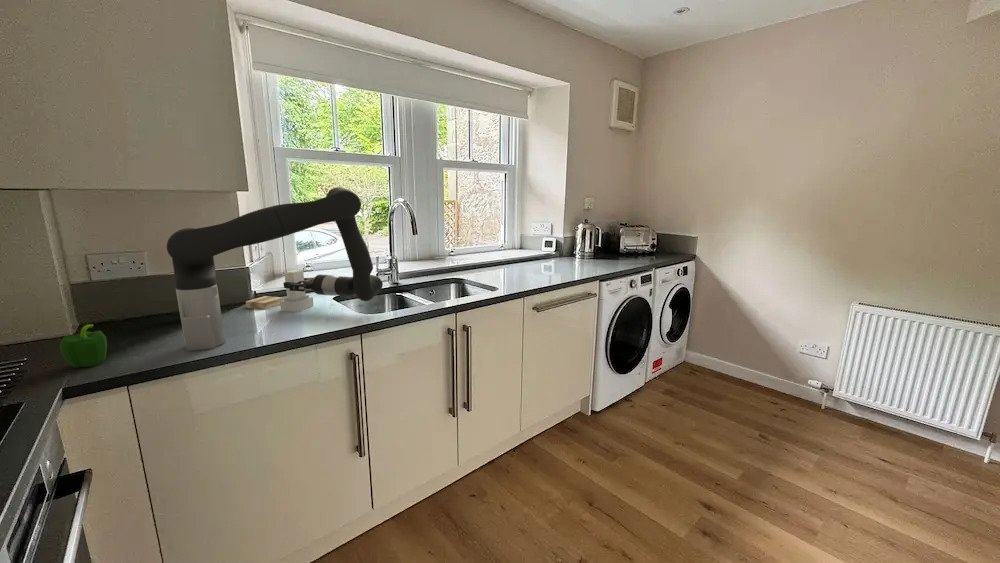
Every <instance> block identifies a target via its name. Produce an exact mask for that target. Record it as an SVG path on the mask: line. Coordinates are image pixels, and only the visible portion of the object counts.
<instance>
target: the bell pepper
mask: <svg viewBox="0 0 1000 563" xmlns="http://www.w3.org/2000/svg"><path fill="white" fill-rule="evenodd" d="M93 327H94V324H89V323H88V324H87V323H86V324H85V325H84V326H82V328H80V333H78V334H77V335H65V336H63V338H62V339H61V341H60V343H59V345H58V346H59V351H60V354H61V355H62V357H63V359H64V360H65V362H67V363H68V365H70V366H71V367H72V368H74V369H78V368H85V367H86V368H88V367H94V366H97V365H100V364H103V363H104V361H105V359H106V358H107V351H108V339H107V336H106V334H104V333H103V331H102V330H94V331H87V330H88V329H92V328H93Z"/></svg>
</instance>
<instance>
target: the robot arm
mask: <svg viewBox="0 0 1000 563" xmlns="http://www.w3.org/2000/svg"><path fill="white" fill-rule="evenodd" d="M361 209H362V201H361V198H360V197H359V195H358V194H356V193H355V192H353V191H352V190H350V189H347V188H345V187H341V186H339V187H338V186H337V187H334V188H331V189H330V190H328V192H327V193H326V196H325V197H322V198H320V199H319V198H318V199H316V200H311V201H305V202H293V203H281V204H277V205H272V206H268V207H264V208H260V209H257V210H253V211H250V212H248V213H245V214H243V215H240V216H238V217H235V218H232V219H230V220H228V221H225V222H222V223H219V224H213V225H209V226H203V227H198V228H192V227H186V228H182V229H179V230H177V231H174V232H173V233H172V234H171V235H170V237H169V238H168V240H167V242H166V251H167V253H168V255H169V257H170V258H171V259H172V266H173V282H174V287H175V292H176V294H175V295H176V299H177V303H178V304H177V305H178V310H179V315H180V317H179V318H180V322H181V326H182V333H183V340H184V346H185V349H186V351H187V352H192V351H193V352H194V351H195V352H196V351H201V350H202V351H203V350H212V349H213V350H214V349H215V348H216V347H218V346H221V345H223V344H225V343H226V338H225V329H224V324H223V322H224V321H223V315H222V310H221V302H220V296H219V290H218V282H217V274H216V265H215V260H214V259H215V258H214V256H217V255H220V254H222V253H225V252H228V251H231V250H234V249H237V248H243V247H247V246H252V245H257V244H260V243H262V244H263V243H265V242H269V241H273V240H276V239H280V238H283V237H287V236H289V235H293V234H295V233H299V232H302V231H305V230H307V229H310V228H314V227H316V226H318V225H319V226H320V225H322V224H327V223H333V222H335V224H336V226H337V228H338V231H339V233H340V236H341V238H342V243H343V244H344V248H345V251H346V254H347V258H348V261H349V264H350V267H351V270H352V276H341V275H335V274H333V275H332V274H318V275H316V276H314V277H304V280H303V281H299V282H285V281H284V282H283V288H284V289H286V288H289V290H290V291H302V292H304V291H305V292H306V291H313V292H314V293H315V294H316V295H320V296H321V295H322V296H335V297H336V296H344V297H351V296H354V295H356V297H357V298H358V300H361V301H362V302H369V301H372V300H373V299H374V298H375V297H376V296H377V295H378V294H379V292H381V290H382V288H383V286H384V284H383V281H382V278H380V277H379V276H376V275H374V274H371V273H372V272H373V270H374V265H373V261H372V258H371V255H370V252H369V249H368V246H367V244H366V242H365V239H364V238H363V236H362V233H361V231H360V229H359V226H358V223H357V219H356V216H357V214H358V213H359V212H360V211H361ZM302 282H303V284H301V283H302Z"/></svg>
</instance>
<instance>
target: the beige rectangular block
mask: <svg viewBox="0 0 1000 563" xmlns="http://www.w3.org/2000/svg"><path fill="white" fill-rule="evenodd" d="M283 299H284V301H281V302H280V305H279V306H280V311H281V312H293V313H298V312H301V311H303V310H305V309H309V308H311V307H314V306H315V304H314V297H313V296H310V295H307V294H306V296H304V297H301V298H298V299H289V298H287V297H283Z"/></svg>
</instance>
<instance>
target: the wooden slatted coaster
mask: <svg viewBox="0 0 1000 563" xmlns="http://www.w3.org/2000/svg"><path fill="white" fill-rule="evenodd" d="M281 301H284V297H282V296H281V297H279V296H271V295H270V296H268V295H264V296H261V297H257V298H252V299H250V300H246V301H245V305H246V306H245V307H246V309H247V308H248V309H257V310H268V308H269V309H271V307H272V308H274V307H277V306H280V302H281Z"/></svg>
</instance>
